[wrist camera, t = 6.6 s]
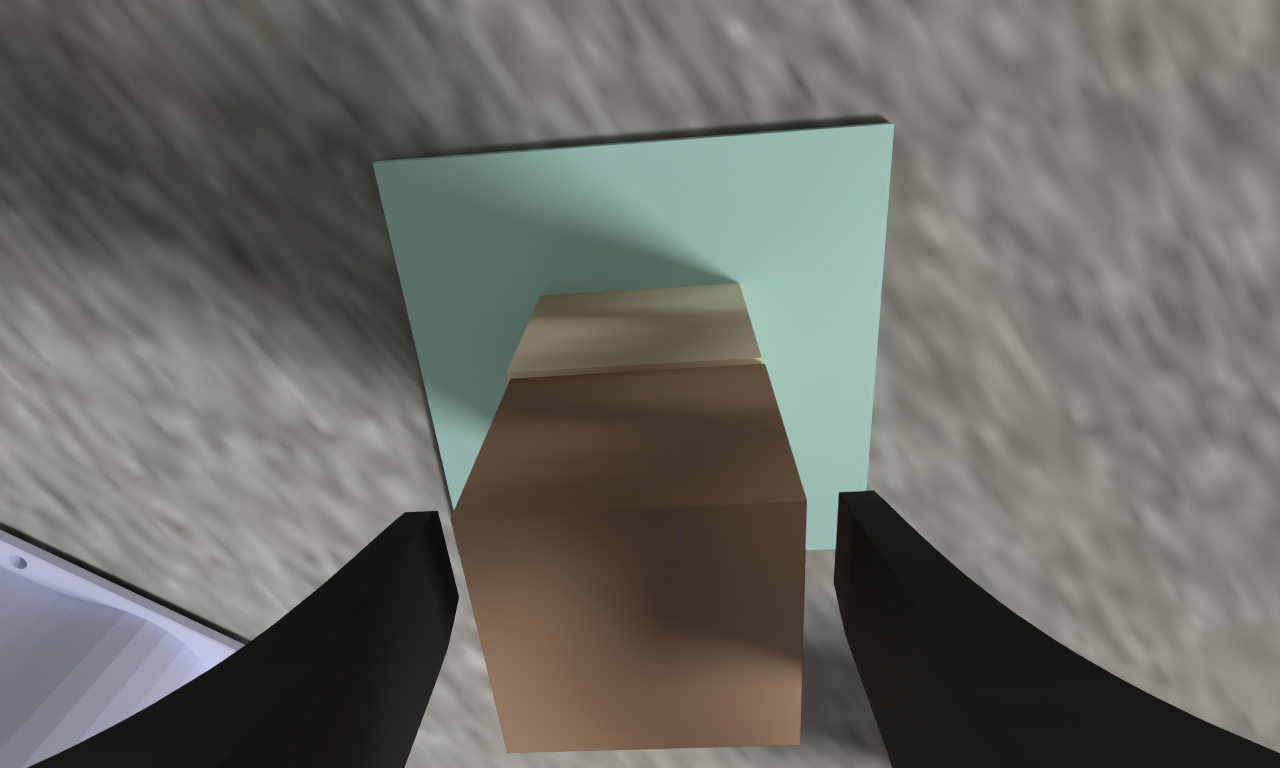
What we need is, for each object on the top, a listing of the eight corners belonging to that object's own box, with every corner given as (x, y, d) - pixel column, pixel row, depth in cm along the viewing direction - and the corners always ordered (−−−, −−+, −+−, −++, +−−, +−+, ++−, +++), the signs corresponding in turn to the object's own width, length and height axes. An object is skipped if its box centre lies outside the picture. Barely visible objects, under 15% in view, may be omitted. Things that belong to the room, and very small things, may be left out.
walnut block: (544, 574, 16) (507, 753, 12) (510, 378, 14) (450, 518, 10) (765, 565, 16) (799, 745, 12) (765, 363, 14) (807, 500, 10)
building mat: (468, 558, 22) (466, 564, 22) (377, 161, 17) (372, 163, 17) (859, 541, 22) (862, 547, 21) (890, 122, 16) (893, 123, 16)
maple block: (564, 462, 20) (541, 570, 16) (540, 295, 18) (505, 372, 14) (741, 454, 20) (762, 561, 16) (739, 282, 18) (761, 357, 14)
